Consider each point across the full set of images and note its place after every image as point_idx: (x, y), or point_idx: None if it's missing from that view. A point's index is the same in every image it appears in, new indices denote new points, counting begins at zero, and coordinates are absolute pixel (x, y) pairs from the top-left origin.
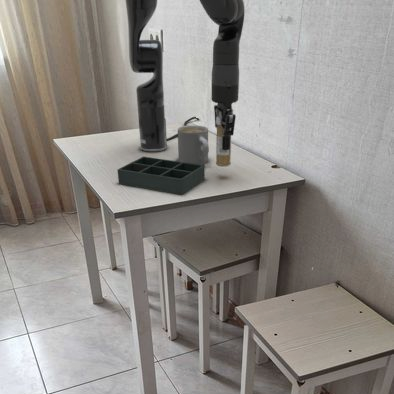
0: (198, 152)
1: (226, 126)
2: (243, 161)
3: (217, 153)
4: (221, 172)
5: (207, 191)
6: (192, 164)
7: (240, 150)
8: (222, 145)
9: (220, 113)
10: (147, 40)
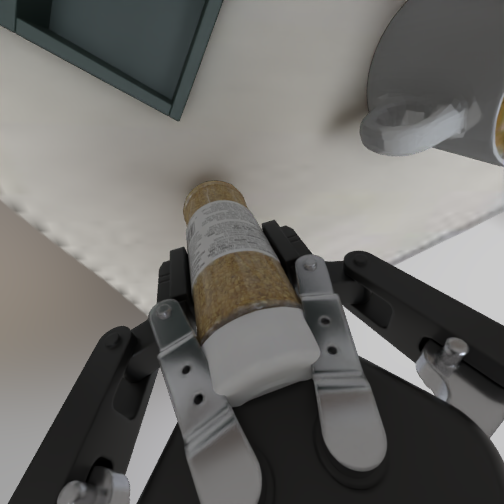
0: (403, 96)
1: (54, 426)
2: (348, 243)
3: (202, 208)
4: (265, 184)
5: (4, 119)
6: (195, 36)
7: (432, 233)
8: (174, 260)
9: (196, 486)
10: None
